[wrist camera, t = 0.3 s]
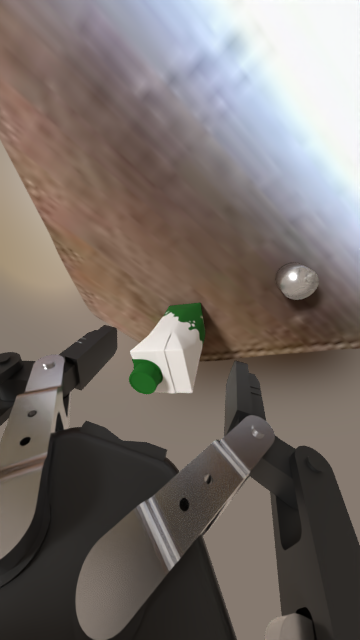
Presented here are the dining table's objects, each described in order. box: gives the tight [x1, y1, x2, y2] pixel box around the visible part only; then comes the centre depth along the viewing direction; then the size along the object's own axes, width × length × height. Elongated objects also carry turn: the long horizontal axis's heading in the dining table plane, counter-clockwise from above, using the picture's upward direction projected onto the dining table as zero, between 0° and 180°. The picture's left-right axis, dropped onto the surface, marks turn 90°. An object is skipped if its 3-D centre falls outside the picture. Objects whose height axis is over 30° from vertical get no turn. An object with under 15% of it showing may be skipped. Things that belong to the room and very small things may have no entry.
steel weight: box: [275, 262, 318, 300], centre depth 31 cm, size 5×5×5 cm
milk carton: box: [129, 303, 205, 394], centre depth 33 cm, size 9×9×20 cm
